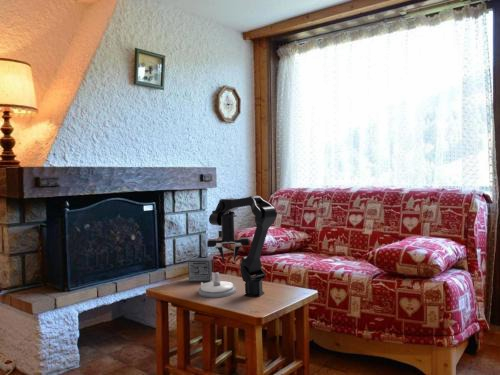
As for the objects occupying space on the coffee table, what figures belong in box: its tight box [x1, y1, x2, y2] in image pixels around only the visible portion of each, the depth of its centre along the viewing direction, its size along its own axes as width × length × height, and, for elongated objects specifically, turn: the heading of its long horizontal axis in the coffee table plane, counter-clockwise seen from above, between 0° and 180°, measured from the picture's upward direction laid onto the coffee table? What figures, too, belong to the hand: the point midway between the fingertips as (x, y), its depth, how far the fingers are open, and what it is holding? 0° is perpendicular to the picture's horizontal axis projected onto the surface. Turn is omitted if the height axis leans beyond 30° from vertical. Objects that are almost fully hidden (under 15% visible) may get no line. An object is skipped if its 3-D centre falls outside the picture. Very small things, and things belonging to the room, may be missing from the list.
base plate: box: [198, 282, 236, 299], centre depth 184 cm, size 16×16×4 cm
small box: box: [187, 257, 213, 283], centre depth 205 cm, size 11×6×10 cm, turn 84°
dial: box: [200, 272, 234, 293], centre depth 184 cm, size 14×14×5 cm
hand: (229, 261), depth 190 cm, fingers open, 4 cm apart
